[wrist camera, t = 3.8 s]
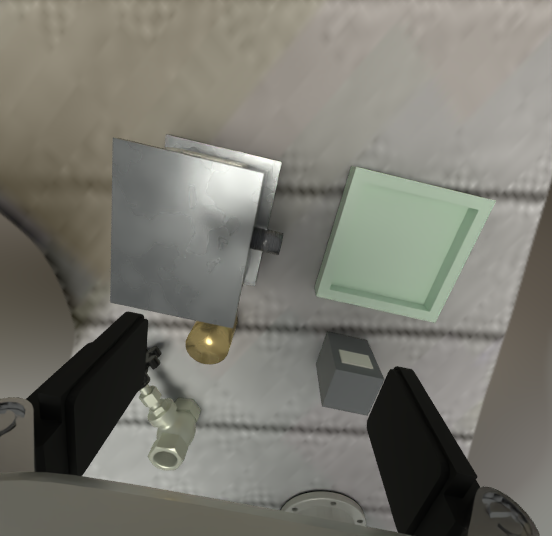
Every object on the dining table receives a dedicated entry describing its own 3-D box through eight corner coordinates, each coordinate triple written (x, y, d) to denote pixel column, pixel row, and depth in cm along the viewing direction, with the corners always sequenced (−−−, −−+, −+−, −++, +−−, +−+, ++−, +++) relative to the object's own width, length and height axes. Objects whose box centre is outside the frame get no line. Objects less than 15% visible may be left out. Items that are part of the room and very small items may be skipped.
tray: (425, 312, 30) (435, 322, 28) (314, 287, 29) (316, 296, 27) (480, 197, 25) (496, 200, 24) (351, 166, 25) (356, 166, 23)
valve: (216, 412, 36) (167, 338, 32) (202, 464, 30) (139, 380, 26) (172, 426, 37) (119, 356, 33) (149, 479, 31) (81, 400, 27)
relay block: (353, 371, 33) (367, 415, 27) (315, 363, 33) (322, 406, 27) (367, 338, 31) (384, 378, 26) (327, 330, 31) (336, 367, 25)
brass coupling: (234, 337, 32) (225, 368, 27) (198, 330, 32) (183, 359, 27) (240, 306, 30) (231, 333, 26) (203, 298, 30) (188, 323, 25)
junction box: (268, 286, 29) (260, 342, 20) (158, 262, 29) (100, 308, 20) (297, 165, 25) (302, 169, 16) (168, 134, 25) (100, 120, 16)
